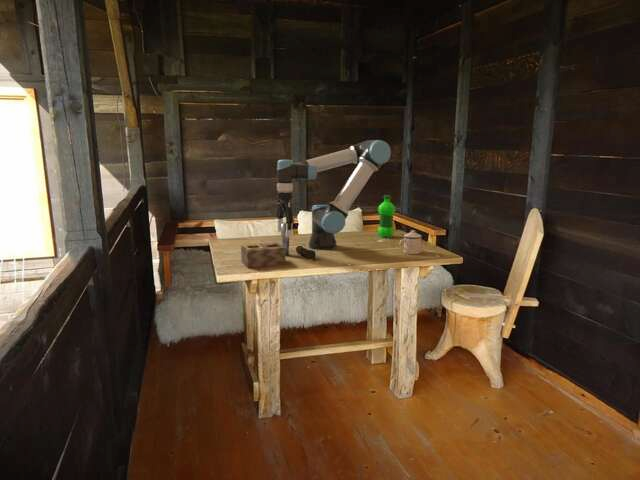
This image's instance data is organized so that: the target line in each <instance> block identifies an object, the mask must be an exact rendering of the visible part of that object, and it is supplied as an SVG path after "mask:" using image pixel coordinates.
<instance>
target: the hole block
mask: <svg viewBox="0 0 640 480" xmlns="http://www.w3.org/2000/svg"><path fill="white" fill-rule="evenodd" d="M240 255H241V256H240V259H241V261H240V262H241V263H242V264H243V265H244V266H245V267H246V268H247V269H251V268H253V269H254V268H260V267H261V268H263V267H264V268H265V267H274V266H285V265H286V256H285V247H283V246H282V245H281V243H279V242H270V243H267V242H266V243H257V244H244V245H243V244H242V245H240Z"/></svg>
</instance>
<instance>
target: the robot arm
mask: <svg viewBox="0 0 640 480" xmlns="http://www.w3.org/2000/svg"><path fill="white" fill-rule="evenodd" d="M391 152H392V151H391V147H390V145H389V144H388V143H387V142H386V141H384V140H380V139H374V140H373V139H371V140H370V139H369V140H365V141H362V142H359V143H357V144H353V145H351V146H349V148H346V149H343V150H338V151H336V152H331V153H328V154H324V155H321V156H317V157H313V158H310V159H306V160H303V161H299V162H297V161H295V162H294V161H293V160H292V159H279V160H278V161H277V166H276V167H277V168H276V171H277V173H276V175H277V176H276V178H277V179H276V180H277V182H276V183H277V184H276V190H277V192H276V195H277V196H276V198H277V208H276V214H275V217H276V218H277V232H278V233H279V232H280V233H281V224H282V223H284V215H285V220H286V221H285V223H286V237H289V238H290V237H292V236H293V223H294V222H295V221H294V214H293V206H292V205H293V203H292V202H290V201H291V200H293V192H292V191H293V187H294V186H293V183H294V182H293V181H294V180H310V181H311V180H315V179H316V178H317V174H318V173H319V172H323V171H326V170H330V169H333V168H337V167H342V166H344V165H348V164H352V163H353V164H354V165H355V164H357V165H356V167H355V168H354V170H353V171H352V173H351V174H350V176H349V177H348V179H347V181H346V182H345V184H344V185H343V187H342V188H341V190H340V191H339V193H338V194H337V196H336V197H335V199H334V201H330V202H328V204H314V205H312V207H311V234H310V237H309V240H308V247H309V248H310V249H312V250H331V249H336V248H337V240H336V237H335V234H338V233H340V232H341V231H342V230H343V229H344V227H346V220H347V218H348V216H349V209H350V208H351V206H352V205H353V204H354V201H355V200H356V199H357V198H358V195H360V193H361V191H362V190H363V188H364V187H365V185H366V183H367V182H368V180H369V179H370V177H371V176H372V174H373V173H374V172H377V171H379V170H380V167H381V166H382V165H383V164H385V163H387V162H389V160H390V157H391V154H392V153H391Z"/></svg>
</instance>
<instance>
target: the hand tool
mask: <svg viewBox="0 0 640 480" xmlns="http://www.w3.org/2000/svg"><path fill="white" fill-rule="evenodd" d="M295 251H296V253H297V254H300V255H303V256H305V257H306V258H307V259H308V260H310V259H311V260H310V261H316V251H315V250H314V249H307V248H306V247H303V246H302V245H298V246H296V247H295Z"/></svg>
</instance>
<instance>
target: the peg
mask: <svg viewBox="0 0 640 480" xmlns="http://www.w3.org/2000/svg"><path fill="white" fill-rule="evenodd" d="M280 233H281V234H280V237H281V239H280V240H281V241H280V242H281V243H280V245H282V246H283V247H285V257H288V256H290V236H289V237H286V222H283V223H282V224H281V232H280Z"/></svg>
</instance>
